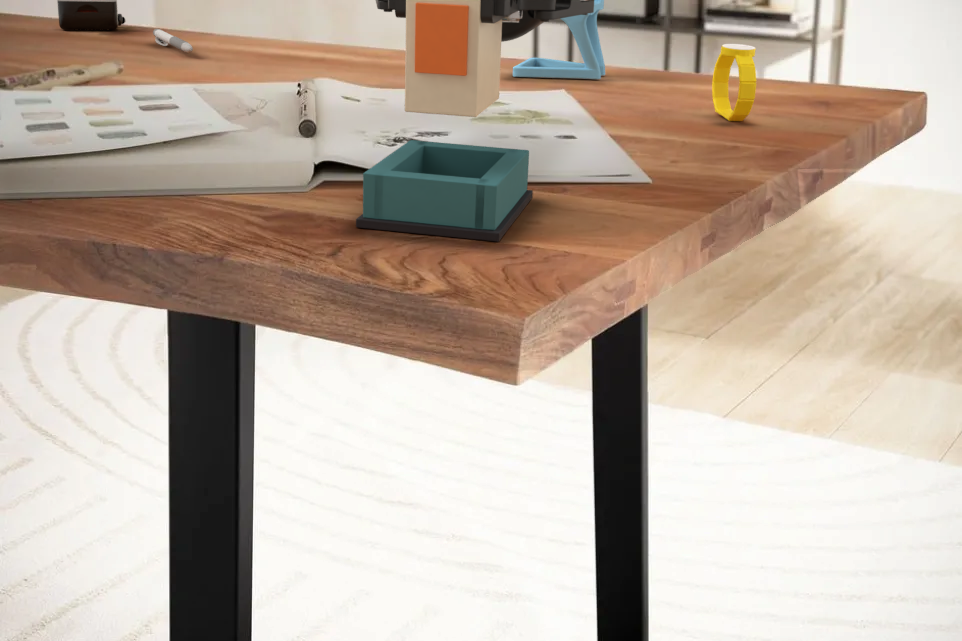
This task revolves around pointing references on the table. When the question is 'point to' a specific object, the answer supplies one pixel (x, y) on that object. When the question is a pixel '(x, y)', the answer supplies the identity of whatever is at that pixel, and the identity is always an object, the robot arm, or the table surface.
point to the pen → (171, 41)
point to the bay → (446, 190)
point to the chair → (588, 46)
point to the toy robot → (450, 58)
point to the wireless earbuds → (89, 15)
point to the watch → (746, 80)
